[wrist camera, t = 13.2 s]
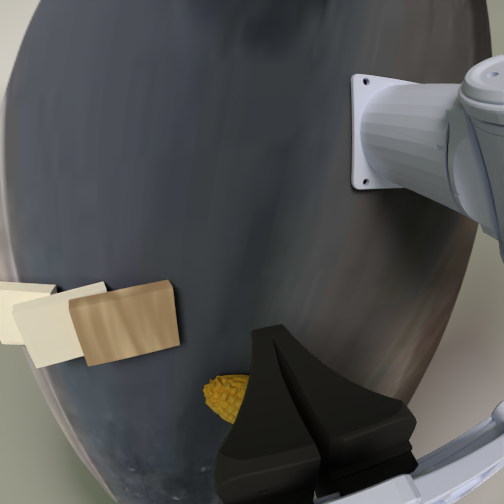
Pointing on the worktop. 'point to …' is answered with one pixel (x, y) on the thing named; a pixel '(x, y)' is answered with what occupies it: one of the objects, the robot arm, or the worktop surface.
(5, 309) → the domino
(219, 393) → the food
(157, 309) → the domino
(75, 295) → the domino
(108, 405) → the worktop surface
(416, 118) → the robot arm
